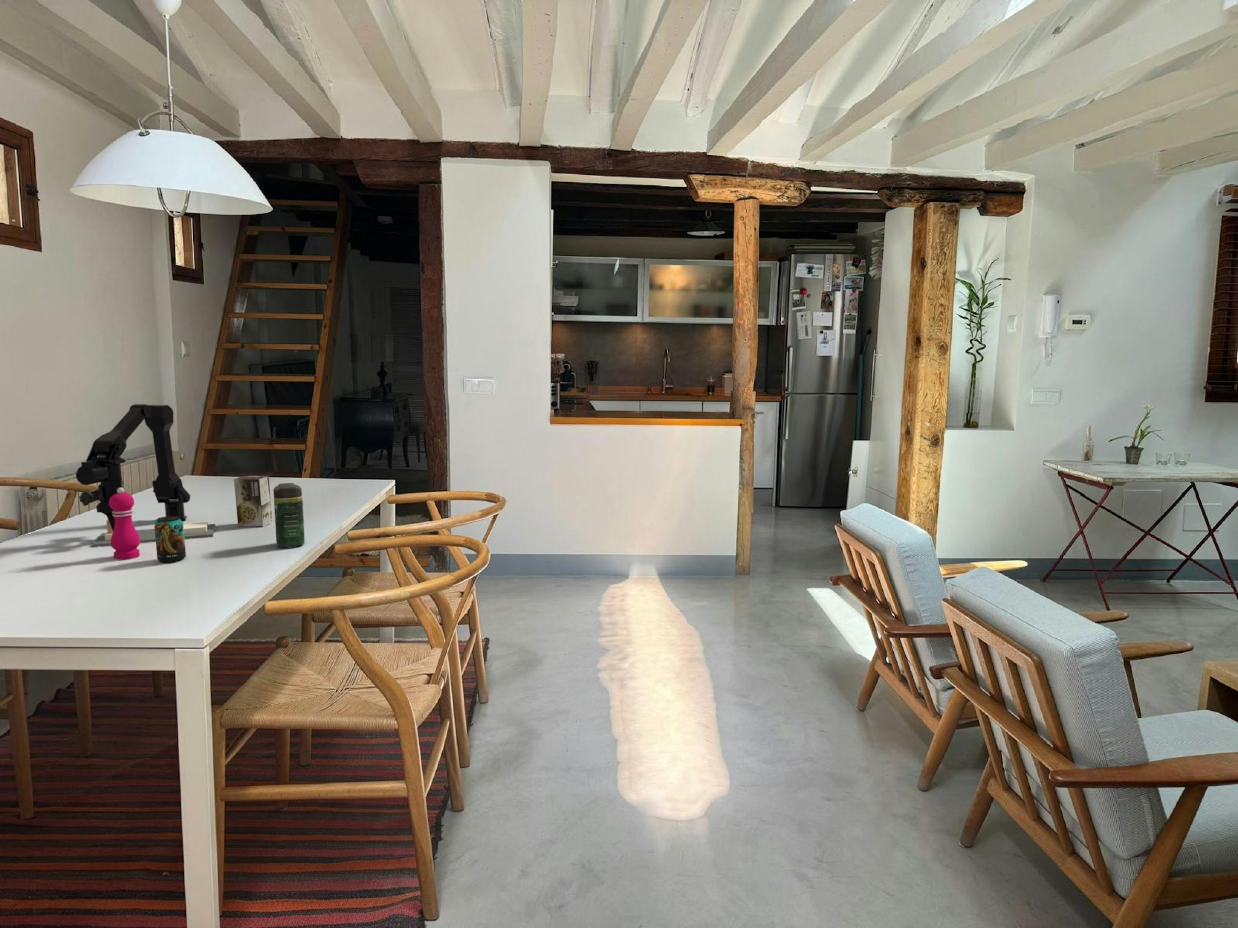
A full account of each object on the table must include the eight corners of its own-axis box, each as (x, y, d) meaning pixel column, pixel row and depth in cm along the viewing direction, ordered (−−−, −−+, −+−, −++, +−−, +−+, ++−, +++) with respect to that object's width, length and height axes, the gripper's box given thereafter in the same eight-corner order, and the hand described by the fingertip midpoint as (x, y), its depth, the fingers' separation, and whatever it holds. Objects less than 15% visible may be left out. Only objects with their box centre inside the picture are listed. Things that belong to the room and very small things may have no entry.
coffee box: (273, 522, 271) (270, 475, 268) (263, 527, 265) (259, 478, 262) (247, 522, 272) (244, 475, 269) (236, 526, 265) (233, 478, 263)
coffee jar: (306, 546, 239) (303, 485, 236) (278, 549, 235) (273, 487, 233) (303, 539, 247) (299, 480, 245) (275, 542, 244) (271, 482, 241)
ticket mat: (102, 535, 253) (101, 527, 253) (215, 526, 266) (215, 518, 266) (92, 547, 239) (91, 538, 238) (212, 536, 252) (212, 528, 251)
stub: (109, 534, 251) (107, 517, 250) (131, 532, 253) (130, 515, 252) (105, 540, 243) (103, 522, 243) (128, 538, 246) (126, 520, 245)
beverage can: (157, 564, 220) (153, 521, 218) (158, 558, 226) (154, 517, 224) (186, 561, 223) (182, 519, 221) (186, 555, 229) (182, 514, 227)
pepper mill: (147, 554, 230) (141, 486, 227) (125, 561, 223) (118, 490, 220) (128, 552, 232) (122, 484, 229) (105, 559, 226) (98, 489, 223)
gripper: (86, 476, 251) (91, 525, 253) (73, 486, 234) (79, 538, 236) (127, 474, 255) (132, 522, 257) (118, 483, 238) (123, 534, 240)
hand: (116, 529), depth 248 cm, fingers closed on stub, 4 cm apart
